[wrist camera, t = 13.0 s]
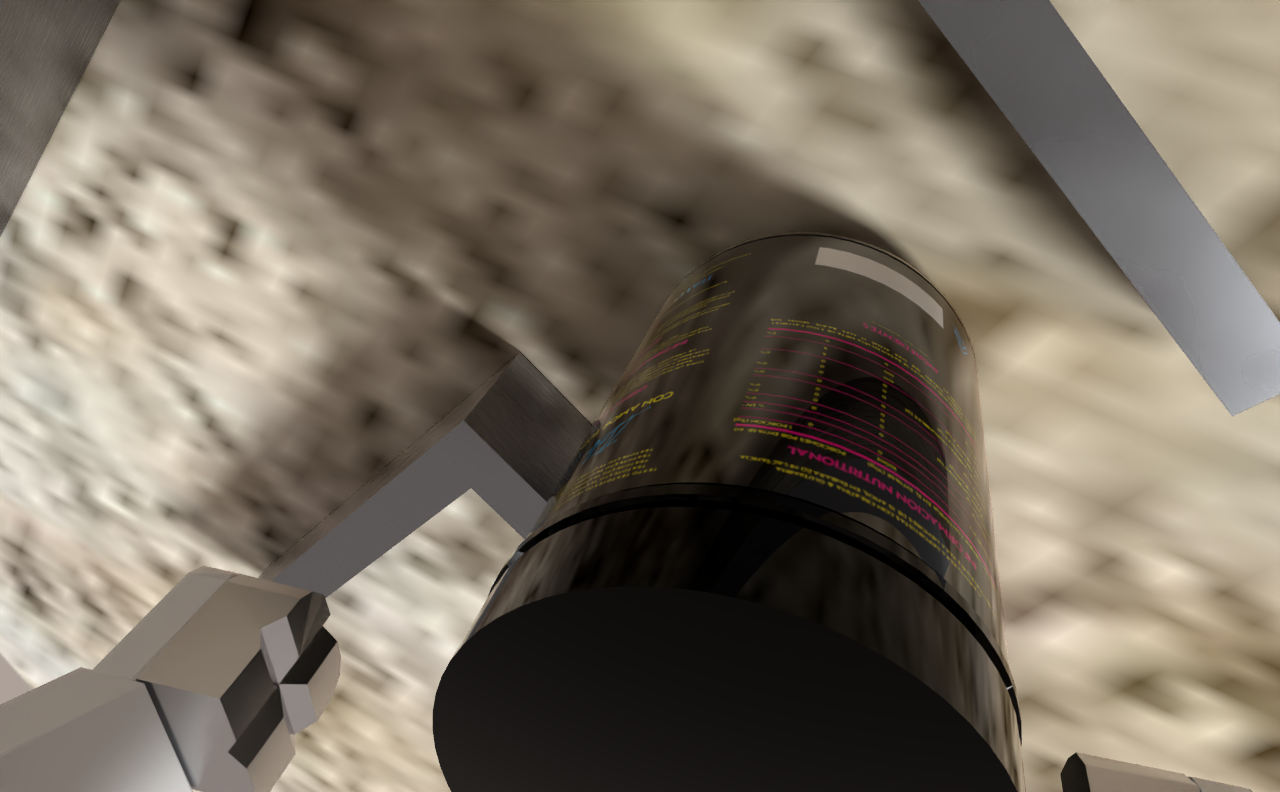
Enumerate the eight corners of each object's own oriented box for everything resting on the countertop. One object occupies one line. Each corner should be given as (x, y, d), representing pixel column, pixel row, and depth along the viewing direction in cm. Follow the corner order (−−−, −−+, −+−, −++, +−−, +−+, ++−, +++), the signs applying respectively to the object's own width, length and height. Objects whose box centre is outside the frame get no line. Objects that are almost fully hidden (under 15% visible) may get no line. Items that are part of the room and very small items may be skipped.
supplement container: (618, 434, 21) (400, 843, 12) (705, 166, 17) (474, 482, 8) (892, 542, 20) (869, 1052, 11) (1045, 290, 16) (1184, 770, 8)
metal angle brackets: (-71, 272, 24) (-185, 319, 22) (436, -847, 11) (294, -1053, 9) (445, 721, 28) (399, 803, 26) (1254, 293, 15) (1317, 376, 13)
